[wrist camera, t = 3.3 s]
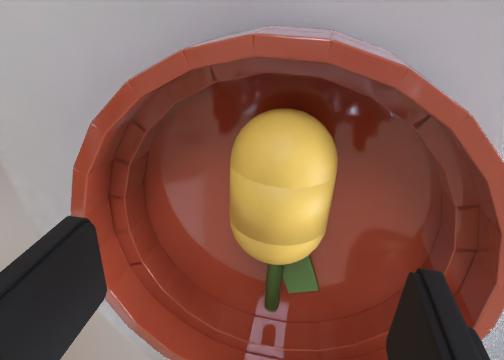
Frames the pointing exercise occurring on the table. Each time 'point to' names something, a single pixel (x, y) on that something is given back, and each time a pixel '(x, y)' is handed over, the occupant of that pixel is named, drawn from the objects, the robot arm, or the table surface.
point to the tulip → (282, 195)
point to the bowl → (341, 212)
